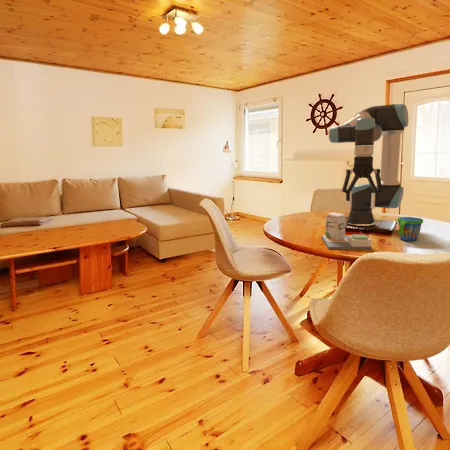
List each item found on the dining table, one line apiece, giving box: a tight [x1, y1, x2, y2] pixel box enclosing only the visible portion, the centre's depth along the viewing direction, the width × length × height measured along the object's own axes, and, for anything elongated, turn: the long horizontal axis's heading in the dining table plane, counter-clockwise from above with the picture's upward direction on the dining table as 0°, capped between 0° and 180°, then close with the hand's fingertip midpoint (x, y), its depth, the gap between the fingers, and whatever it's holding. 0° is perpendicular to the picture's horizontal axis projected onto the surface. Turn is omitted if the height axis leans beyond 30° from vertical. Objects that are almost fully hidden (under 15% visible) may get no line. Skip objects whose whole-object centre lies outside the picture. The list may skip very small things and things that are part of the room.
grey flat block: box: [320, 234, 372, 250], centre depth 166 cm, size 18×21×4 cm
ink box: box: [325, 211, 347, 240], centre depth 170 cm, size 8×5×12 cm, turn 24°
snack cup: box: [396, 216, 424, 242], centre depth 169 cm, size 16×10×10 cm
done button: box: [351, 234, 369, 239], centre depth 159 cm, size 6×6×2 cm
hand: (361, 208), depth 156 cm, fingers open, 9 cm apart
